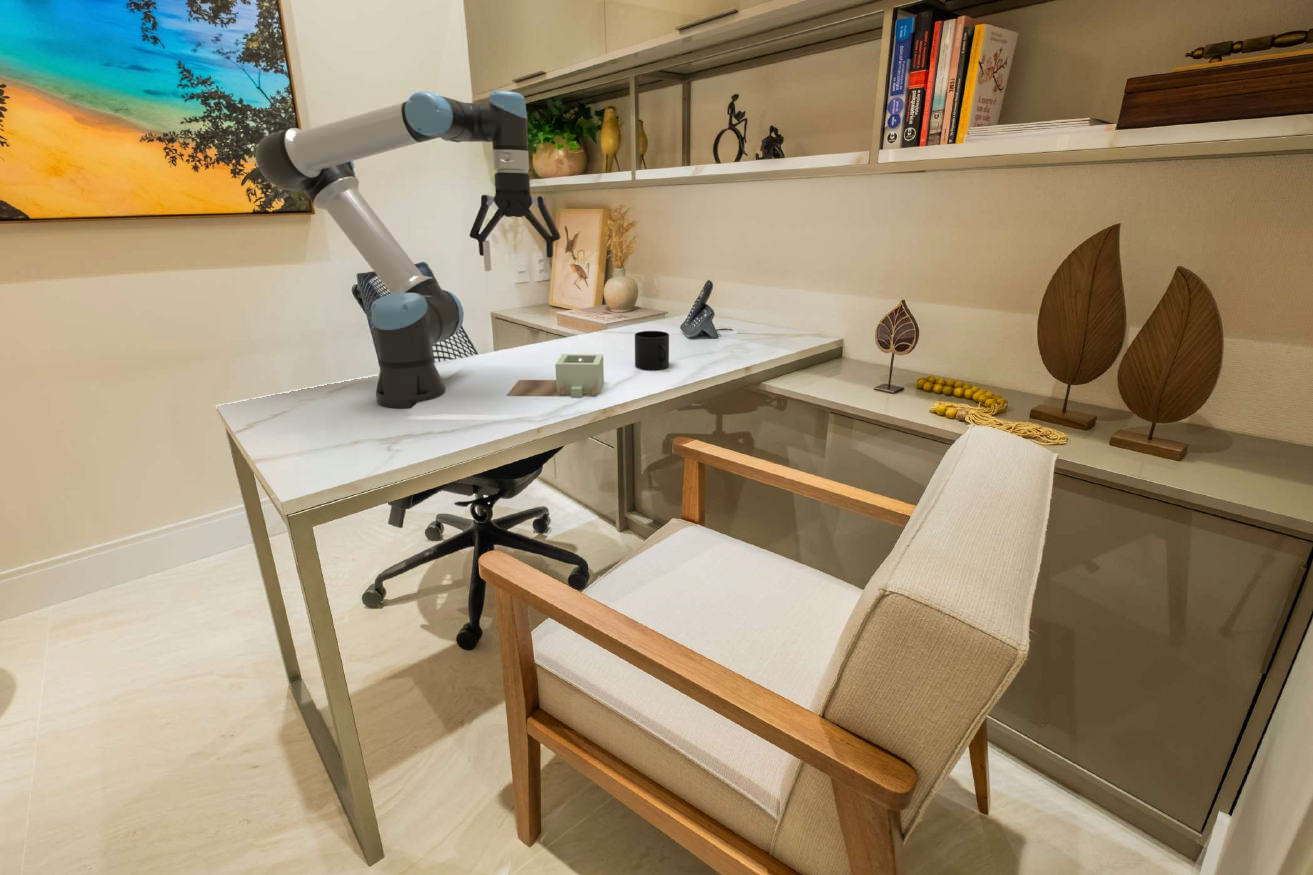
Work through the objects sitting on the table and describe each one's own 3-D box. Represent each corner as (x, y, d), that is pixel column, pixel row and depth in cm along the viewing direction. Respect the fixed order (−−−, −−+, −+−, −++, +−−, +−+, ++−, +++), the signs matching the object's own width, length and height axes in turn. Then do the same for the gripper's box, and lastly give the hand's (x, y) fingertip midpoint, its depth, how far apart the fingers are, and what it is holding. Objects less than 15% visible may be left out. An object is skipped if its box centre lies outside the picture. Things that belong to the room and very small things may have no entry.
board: (506, 400, 145) (505, 383, 144) (519, 384, 158) (518, 368, 156) (596, 401, 145) (596, 384, 143) (602, 385, 157) (602, 368, 156)
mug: (650, 374, 167) (650, 341, 164) (628, 364, 176) (628, 332, 173) (680, 369, 171) (680, 337, 168) (657, 360, 181) (657, 329, 178)
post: (575, 388, 150) (574, 359, 148) (577, 385, 153) (575, 356, 150) (585, 388, 150) (584, 359, 148) (587, 385, 153) (586, 356, 150)
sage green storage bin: (563, 381, 156) (562, 353, 154) (603, 381, 156) (603, 354, 153) (554, 397, 144) (553, 367, 141) (598, 397, 144) (597, 367, 141)
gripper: (449, 170, 134) (458, 271, 142) (565, 173, 134) (568, 274, 142) (460, 171, 141) (468, 268, 149) (571, 174, 141) (573, 271, 149)
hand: (517, 271), depth 145 cm, fingers open, 13 cm apart
